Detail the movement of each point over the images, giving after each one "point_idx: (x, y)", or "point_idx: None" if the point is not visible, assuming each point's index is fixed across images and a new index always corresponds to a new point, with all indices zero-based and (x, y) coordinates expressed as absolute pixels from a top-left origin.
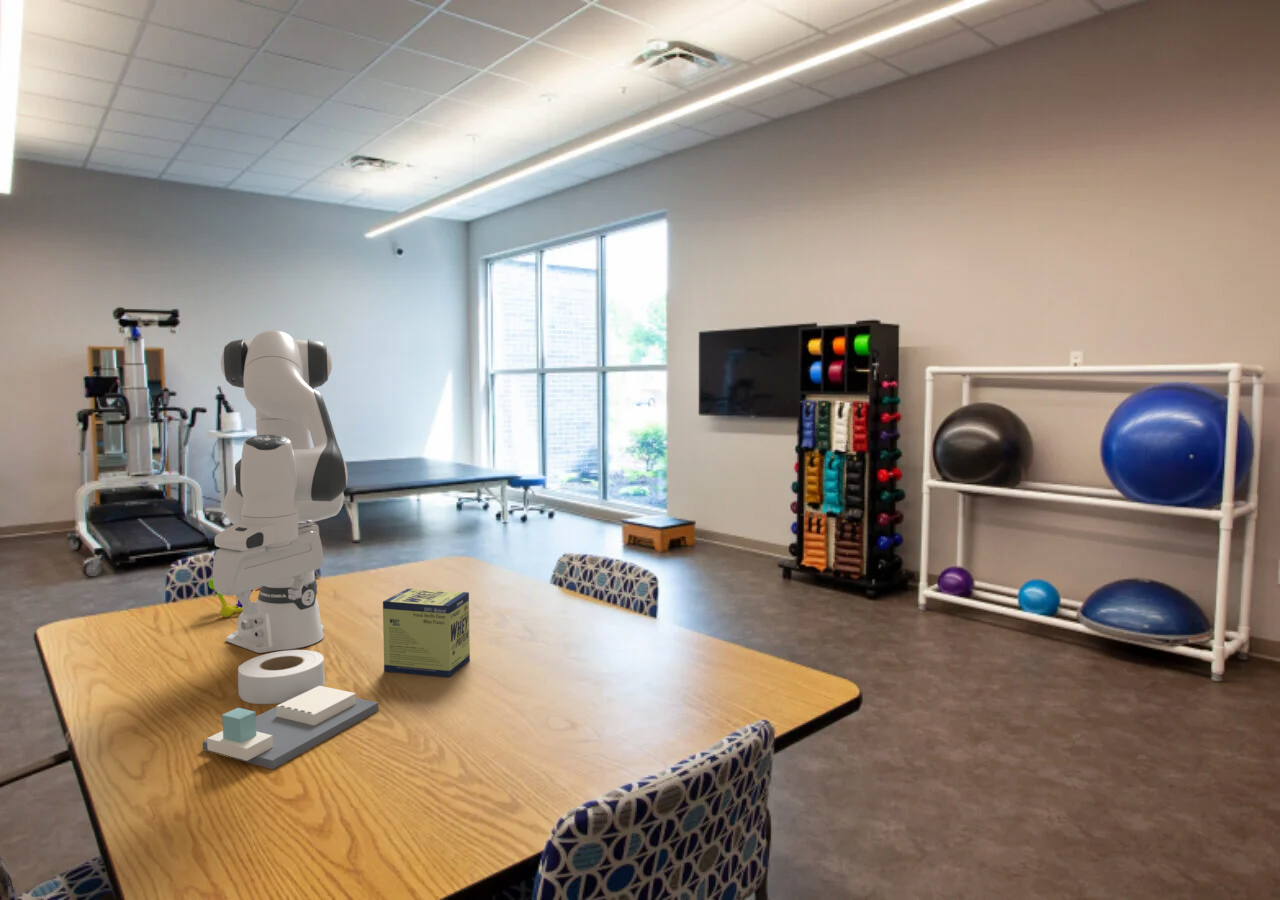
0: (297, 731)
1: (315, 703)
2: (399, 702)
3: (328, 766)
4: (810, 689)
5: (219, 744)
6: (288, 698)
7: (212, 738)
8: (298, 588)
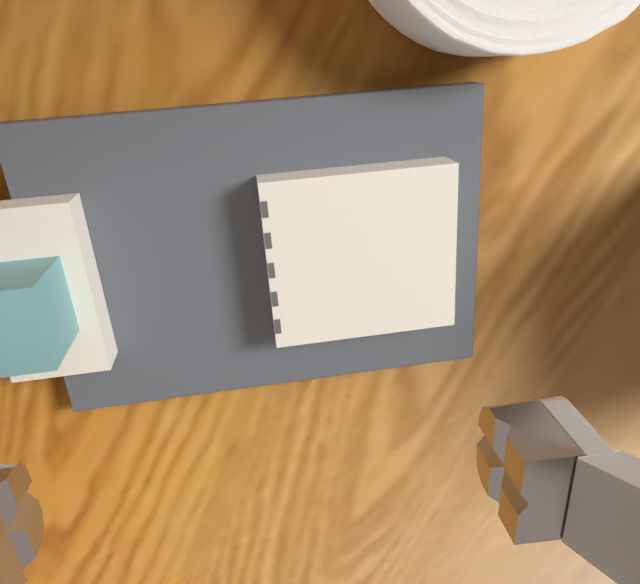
0: (221, 323)
1: (338, 282)
2: (527, 351)
3: (174, 480)
4: None
5: None
6: (404, 32)
7: None
8: (573, 540)
